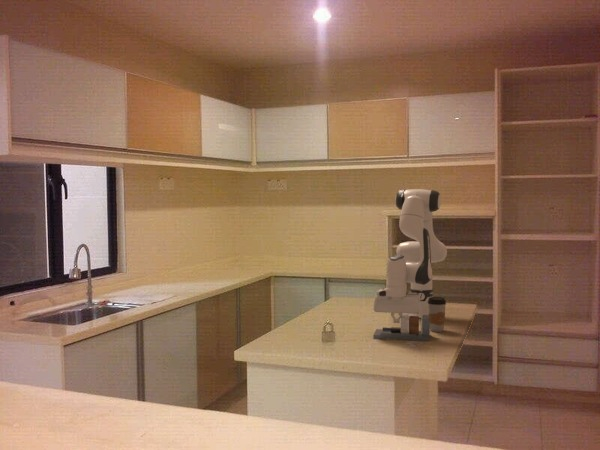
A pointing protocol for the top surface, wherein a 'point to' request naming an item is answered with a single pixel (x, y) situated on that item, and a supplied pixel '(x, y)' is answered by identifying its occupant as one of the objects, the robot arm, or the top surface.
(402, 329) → the jaw
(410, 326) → the block
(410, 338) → the vise
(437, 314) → the coffee cup
